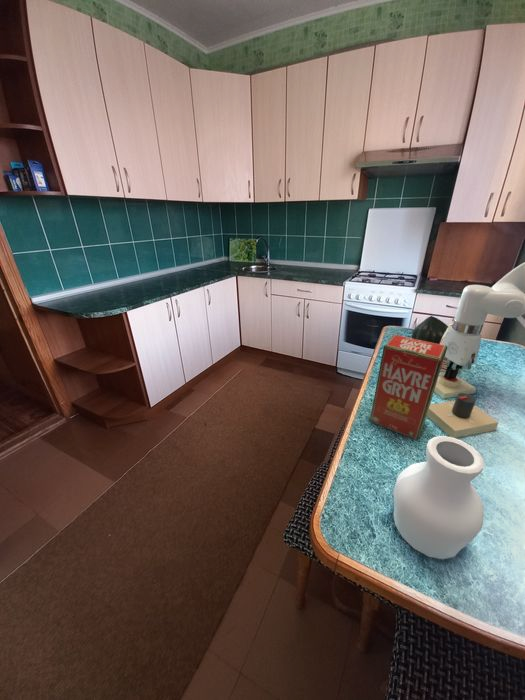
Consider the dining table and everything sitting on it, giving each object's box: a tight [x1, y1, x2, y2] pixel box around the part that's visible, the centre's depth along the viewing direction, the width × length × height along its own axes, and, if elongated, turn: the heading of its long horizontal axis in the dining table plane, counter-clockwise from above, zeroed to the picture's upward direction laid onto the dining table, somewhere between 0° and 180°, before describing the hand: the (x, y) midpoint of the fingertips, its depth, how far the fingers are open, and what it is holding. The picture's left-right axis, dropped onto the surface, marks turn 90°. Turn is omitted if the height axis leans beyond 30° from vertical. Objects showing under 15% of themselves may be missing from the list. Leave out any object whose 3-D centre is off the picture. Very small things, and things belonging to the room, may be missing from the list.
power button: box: [444, 377, 457, 382], centre depth 97 cm, size 4×4×2 cm
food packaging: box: [369, 334, 447, 441], centre depth 78 cm, size 13×9×25 cm
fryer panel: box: [426, 400, 500, 439], centre depth 83 cm, size 14×11×3 cm
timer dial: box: [452, 393, 477, 418], centre depth 81 cm, size 4×4×6 cm
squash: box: [411, 315, 449, 344], centre depth 121 cm, size 14×15×15 cm
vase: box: [392, 435, 485, 560], centre depth 52 cm, size 14×14×20 cm
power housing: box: [434, 372, 477, 400], centre depth 97 cm, size 12×10×4 cm
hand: (449, 377), depth 96 cm, fingers closed
